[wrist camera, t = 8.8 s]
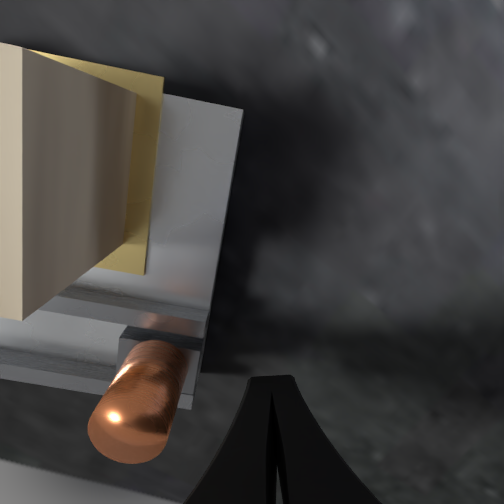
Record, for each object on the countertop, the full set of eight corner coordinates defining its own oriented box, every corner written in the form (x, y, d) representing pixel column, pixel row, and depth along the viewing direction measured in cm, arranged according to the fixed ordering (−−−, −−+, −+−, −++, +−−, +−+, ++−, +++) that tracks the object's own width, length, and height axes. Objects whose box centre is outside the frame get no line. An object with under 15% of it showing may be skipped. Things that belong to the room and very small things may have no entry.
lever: (205, 332, 12) (183, 409, 9) (196, 380, 13) (174, 470, 9) (129, 319, 12) (77, 392, 8) (124, 368, 12) (74, 454, 9)
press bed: (246, 99, 11) (244, 88, 9) (199, 373, 14) (188, 418, 12) (-132, 22, 10) (-240, -12, 8) (-94, 323, 14) (-165, 360, 11)
